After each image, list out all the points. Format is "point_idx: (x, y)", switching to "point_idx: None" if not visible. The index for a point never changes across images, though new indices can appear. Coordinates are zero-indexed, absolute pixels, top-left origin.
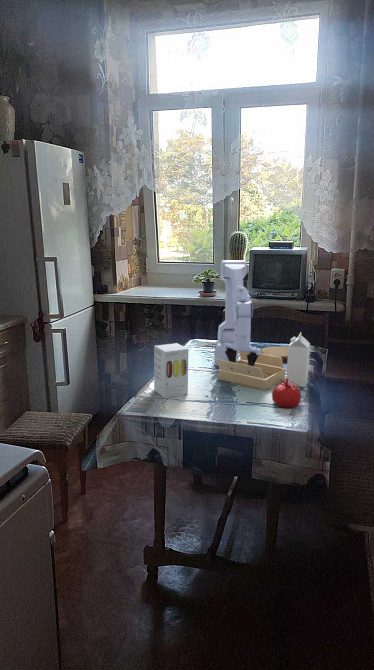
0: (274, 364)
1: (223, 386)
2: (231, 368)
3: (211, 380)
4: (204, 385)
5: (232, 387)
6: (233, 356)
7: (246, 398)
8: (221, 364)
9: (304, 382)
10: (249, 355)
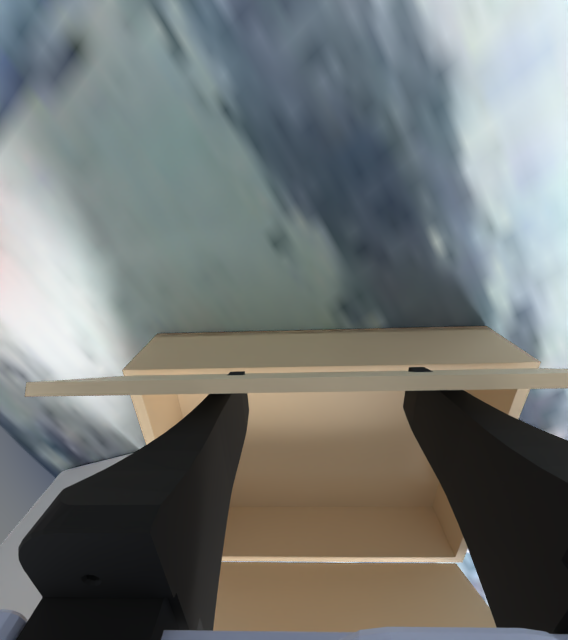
0: (236, 573)
1: (401, 241)
2: (422, 368)
3: (523, 291)
4: (542, 166)
5: (340, 263)
6: (482, 493)
7: (140, 129)
8: (554, 370)
9: (49, 490)
10: (90, 540)
